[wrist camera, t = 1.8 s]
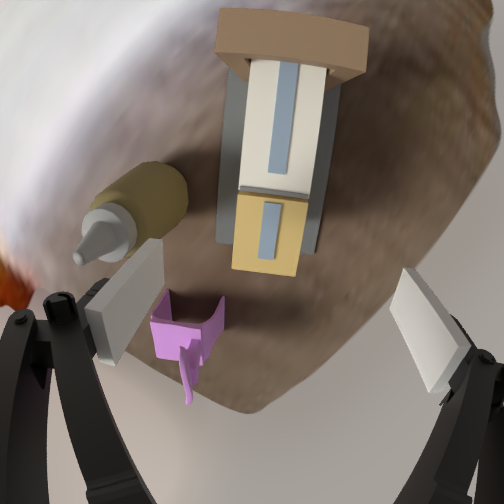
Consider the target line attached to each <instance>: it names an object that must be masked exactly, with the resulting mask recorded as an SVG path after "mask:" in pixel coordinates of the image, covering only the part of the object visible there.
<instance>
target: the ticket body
mask: <svg viewBox="0 0 504 504" xmlns="http://www.w3.org/2000/svg"><path fill="white" fill-rule="evenodd" d="M368 41H369V27H365V26H361V25H357V24H353V23H349V22H345V21H340V20H336V19H331V18H326V17H320V16H314V15H308V14H302V13H294V12H286V11H276V10H265V9H248V8H220V12H219V19H218V26H217V34H216V42H215V50H214V53H216V54H217V55H218V56H219V57H220V58H221V59H222V60H223V61H224V62H225V63H226V64H227V65H228V66H229V67H230V68H231V69H232V70H233V71H234V72H235V73H236V74H237V75H238V76H239V77H240V78H241V80H242V81H243V82H249V85H248V95H247V104H246V114H245V124H244V134H243V144H242V155H241V166H240V176H239V188H238V190H239V191H247V192H256V193H265V194H273V195H280V196H288V197H296V198H303V199H309V195H310V189H311V182H312V176H313V169H314V163H315V156H316V149H317V142H318V135H319V127H320V120H321V112H322V104H323V96H324V92H325V91H327V90H329V89H331V88H333V87H335V86H337V85H339V84H341V83H343V82H346V81H348V80H350V79H352V78H354V77H356V76H358V75H361V74H363V73H365V72H366V65H367V54H368Z"/></svg>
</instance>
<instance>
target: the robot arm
mask: <svg viewBox="0 0 504 504" xmlns="http://www.w3.org/2000/svg"><path fill="white" fill-rule="evenodd" d="M164 285H165V283H164V264H163V240H162V239H153V238H149V239H148V240H147V241H146V242H145V243H144V244H143V245H142V246H141V247H140V248H139V249H138V250H137V251H136V252H135V253H134V254H133V255H132V256H131V257H130V258H129V259H128V260H127V262H126V263H125V264H124V265H123V266H122V267H121V268H120V269H119V270H118V271H117V272H116V273H115V274H114V275H113V276H112V278H111V279H108V278H103V279H101V280H100V281H98V282H96V283H95V284H94V285H93V286H92V287H91V288H90V290H88V291H87V292H86V293H85V295H84V296H83V297H82V298H81V299H80V300H79V301H78V302H77V303H76V302H75V298H74V296H73V295H72V294H71V293H69V292H57V293H54V294H51V295H50V296H48V297H47V298H46V299H45V300H44V302H43V307H44V310H45V313H46V316H47V319H48V320H36V318H35V315H34V313H33V311H31V310H29V309H21V310H18V311H15V312H14V313H13V314H12V315H10V317H9V319H8V321H7V323H6V326H5V328H4V331H3V333H2V336H1V339H0V504H49V494H48V481H47V417H48V404H49V392H50V383H51V375H52V369H55V375H56V381H57V386H58V391H59V396H60V400H61V404H62V409H63V413H64V417H65V421H66V425H67V429H68V432H69V436H70V439H71V442H72V445H73V448H74V452H75V455H76V458H77V461H78V464H79V467H80V470H81V472H82V475H83V477H84V480H85V482H86V486H87V491H86V498H87V500H88V503H89V504H157V503H156V502H155V500H154V498H153V496H152V495H151V493H150V492H149V489H148V488H147V486H146V484H145V482H144V481H143V479H142V477H141V475H140V473H139V471H138V470H137V468H136V466H135V464H134V462H133V460H132V458H131V456H130V454H129V451H128V449H127V447H126V445H125V443H124V441H123V439H122V437H121V434H120V432H119V430H118V427H117V425H116V423H115V420H114V418H113V415H112V413H111V410H110V408H109V405H108V403H107V400H106V397H105V395H104V392H103V389H102V386H101V384H100V381H99V378H98V375H97V372H96V369H95V366H94V363H93V360H92V358H93V357H94V355H95V354H96V352H97V355H98V358H99V361H100V362H102V363H105V364H108V365H112V366H116V365H117V363H118V361H119V360H120V358H121V356H122V354H123V353H124V351H125V349H126V347H127V346H128V344H129V342H130V341H131V339H132V337H133V335H134V334H135V332H136V330H137V329H138V327H139V325H140V324H141V322H142V320H143V319H144V317H145V315H146V314H147V312H148V310H149V309H150V307H151V305H152V304H153V302H154V301H155V299H156V297H157V296H158V294H159V293H160V291H161V289H162V288H163V286H164ZM389 309H390V311H391V313H392V315H393V317H394V319H395V321H396V323H397V325H398V327H399V329H400V331H401V333H402V335H403V337H404V339H405V342H406V344H407V346H408V348H409V350H410V352H411V354H412V356H413V359H414V361H415V363H416V365H417V367H418V369H419V372H420V374H421V376H422V379H423V381H424V383H425V386H426V388H427V391H428V393H438V392H442V391H443V389H444V388H445V386H446V385H447V384H448V383H449V385H450V387H451V389H450V391H449V392H448V393H447V395H446V396H445V397H444V399H443V400H442V401H441V403H440V404H439V405H440V406H441V405H442V404H443V403H444V404H443V406H442V409H441V412H440V414H439V416H438V419H437V421H436V424H435V426H434V428H433V431H432V433H431V435H430V437H429V440H428V442H427V444H426V446H425V448H424V450H423V452H422V454H421V456H420V458H419V460H418V462H417V464H416V466H415V468H414V470H413V472H412V474H411V475H410V477H409V479H408V481H407V482H406V484H405V486H404V487H403V489H402V491H401V492H400V494H399V495H398V497H397V499H396V500H395V502H394V503H393V504H472V497H470V496H467V492H468V489H469V486H470V483H471V480H472V477H473V475H474V472H475V468H476V465H477V462H478V459H479V463H478V474H477V484H476V492H475V498H474V504H504V406H503V402H504V364H502V363H497V362H496V360H495V358H494V356H493V355H492V354H491V353H489V352H488V351H486V350H483V349H477V347H476V346H475V344H474V343H473V341H472V340H471V339H470V337H469V335H468V334H467V333H466V331H465V330H464V328H462V325H461V324H460V323H459V321H458V320H457V319H456V318H455V317H453V316H452V315H451V314H449V313H448V311H447V310H446V309H445V307H444V306H443V304H442V303H441V302H440V300H439V299H438V298H437V296H436V295H435V294H434V292H433V291H432V290H431V289H430V288H429V286H428V285H427V283H426V282H425V281H424V280H423V278H422V277H421V276H420V275H419V273H418V272H417V271H416V270H415V269H412V268H403V271H402V274H401V277H400V280H399V283H398V286H397V289H396V292H395V295H394V298H393V300H392V303H391V306H390V308H389Z"/></svg>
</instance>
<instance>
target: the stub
mask: <svg viewBox="0 0 504 504" xmlns="http://www.w3.org/2000/svg"><path fill="white" fill-rule="evenodd" d="M307 209H308V201H307V199H303V198H296V197H288V196H280V195H273V194H265V193H256V192H247V191H239V193H238V197H237V208H236V220H235V232H234V245H233V257H232V269H238V270H245V271H253V272H261V273H270V274H278V275H286V276H294V277H295V274H296V269H297V264H298V259H299V253H300V248H301V243H302V237H303V232H304V226H305V220H306V215H307Z"/></svg>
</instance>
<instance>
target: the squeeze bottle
mask: <svg viewBox="0 0 504 504" xmlns="http://www.w3.org/2000/svg"><path fill="white" fill-rule="evenodd" d="M188 204H189V201H188V190H187V183H186V181H185V179H184V177H183V175H182V174H181V173H180V172H179V171H177V170H176V169H175V168H173V167H171V166H169V165H166V164H163V163H160V162H157V161H153V162H144V163H141V164H140V165H138V166H136V167H135V168H133V169H132V170H130V171H129V172H127V173H126V174H125V175H123V176H122V177H120V178H119V179H118V180H116V181H115V182H114V183H112V184H111V185H110V186H108V187H107V188H106V189H104V190H103V191H102V192H101V193H99V194H98V195H97V196H96V198H95V199H94V201H93V203H92V205H91V207H90V212H89V213H87V214H86V216H85V218H84V220H83V222H82V235H83V239H82V240H81V242H80V243H79V245H78V246H77V248H76V249H75V251H74V253H73V259H74V261H75V262H76V263H77V264H78V265H81V266H83V265H85V264H87V263H89V262H91V261H93V260H95V259H97V258H98V259H100V260H103V261H105V262H117V261H119V260H121V259H123V258H130V257H131V256H132V255H133V254H134V253H135V252H136V251H137V250H138V249H139V248H140V247H141V246H142V245H143V244H144V243H145V242H146V241H147V240H148V239H149V238H153V239H161V238H162V237H163V236H164V235H166V234H167V233H168V232H169V231H171V230H172V229H173V228H174V227H176V226H177V225H178V224H179V222H180V221H181V220H182V219H183V218H184V216H185V214H186V210H187V207H188Z"/></svg>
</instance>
